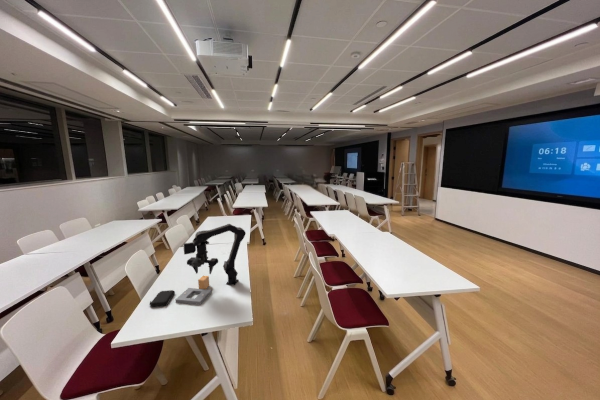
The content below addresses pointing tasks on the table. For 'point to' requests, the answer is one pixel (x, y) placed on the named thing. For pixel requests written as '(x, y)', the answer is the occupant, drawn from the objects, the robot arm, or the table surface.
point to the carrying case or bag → (162, 298)
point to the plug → (203, 282)
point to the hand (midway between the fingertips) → (203, 273)
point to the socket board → (198, 300)
